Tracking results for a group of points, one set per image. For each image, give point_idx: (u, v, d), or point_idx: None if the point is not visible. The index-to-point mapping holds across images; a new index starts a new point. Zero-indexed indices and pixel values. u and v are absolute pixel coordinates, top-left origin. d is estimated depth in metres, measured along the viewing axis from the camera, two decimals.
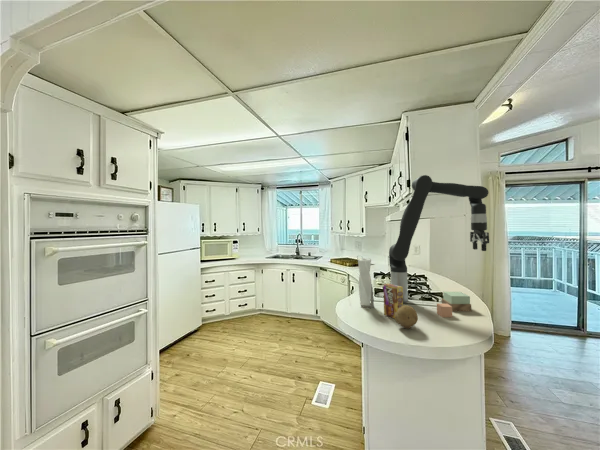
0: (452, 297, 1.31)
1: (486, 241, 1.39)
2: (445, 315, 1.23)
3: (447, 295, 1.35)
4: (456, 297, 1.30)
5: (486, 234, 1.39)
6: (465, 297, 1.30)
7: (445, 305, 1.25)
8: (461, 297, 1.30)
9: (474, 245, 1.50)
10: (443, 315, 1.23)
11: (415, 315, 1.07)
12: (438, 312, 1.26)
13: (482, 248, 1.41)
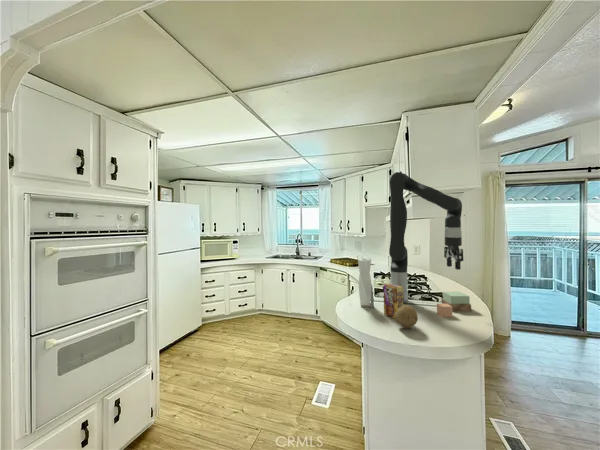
0: (452, 297, 1.31)
1: (460, 259, 1.24)
2: (445, 315, 1.23)
3: (447, 295, 1.35)
4: (456, 297, 1.31)
5: (460, 251, 1.24)
6: (465, 297, 1.30)
7: (445, 305, 1.25)
8: (461, 297, 1.30)
9: (448, 262, 1.34)
10: (443, 315, 1.23)
11: (415, 315, 1.07)
12: (438, 312, 1.26)
13: (456, 266, 1.26)
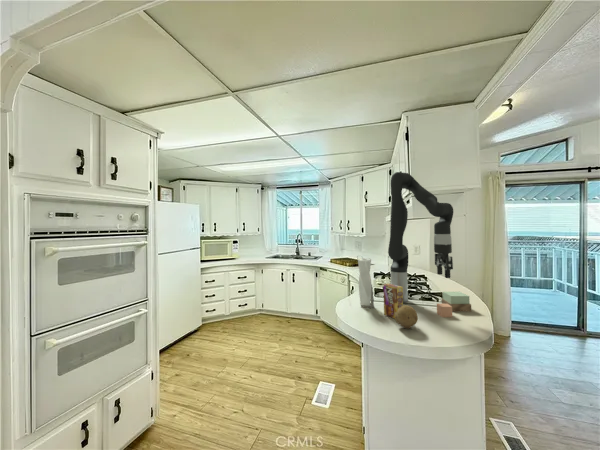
0: (452, 297, 1.31)
1: (449, 267, 1.18)
2: (445, 315, 1.23)
3: (446, 295, 1.35)
4: (456, 297, 1.30)
5: (449, 259, 1.18)
6: (464, 297, 1.30)
7: (445, 305, 1.25)
8: (461, 297, 1.30)
9: (438, 269, 1.29)
10: (443, 315, 1.23)
11: (415, 315, 1.07)
12: (438, 312, 1.26)
13: (445, 275, 1.21)
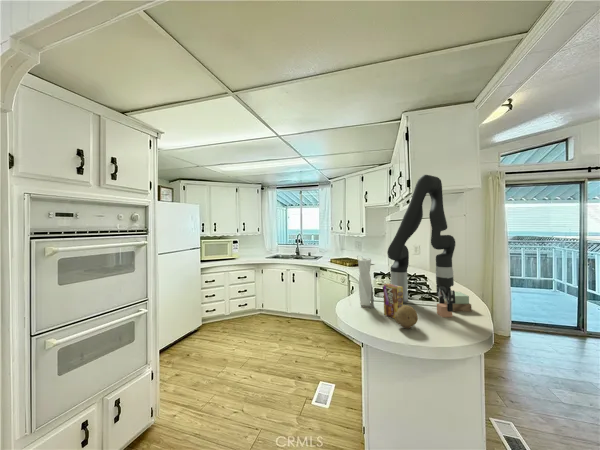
0: None
1: (452, 301, 1.18)
2: (445, 315, 1.23)
3: None
4: (455, 297, 1.31)
5: (452, 293, 1.18)
6: (464, 297, 1.30)
7: (445, 305, 1.25)
8: (460, 297, 1.30)
9: (440, 301, 1.29)
10: (443, 315, 1.23)
11: (415, 315, 1.07)
12: (438, 312, 1.26)
13: (448, 308, 1.20)
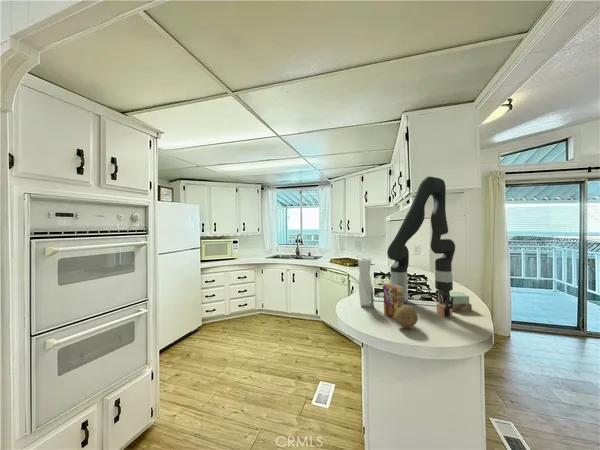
0: None
1: (449, 306, 1.20)
2: None
3: None
4: (455, 297, 1.30)
5: (450, 300, 1.18)
6: (464, 297, 1.30)
7: None
8: (460, 297, 1.30)
9: None
10: (443, 315, 1.23)
11: (415, 315, 1.07)
12: (438, 312, 1.26)
13: (445, 313, 1.22)
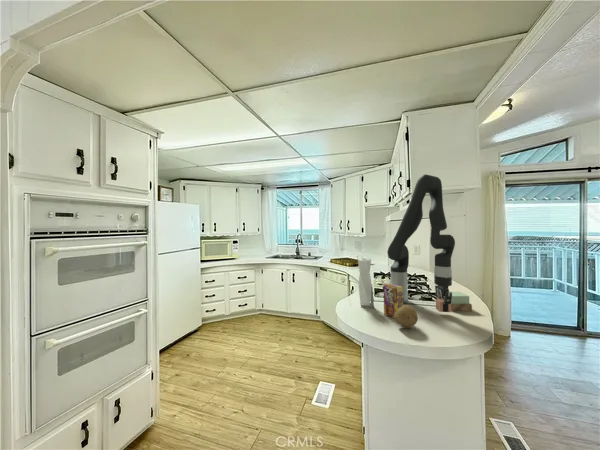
0: None
1: (447, 301, 1.20)
2: None
3: None
4: (455, 297, 1.30)
5: (449, 295, 1.18)
6: (464, 297, 1.30)
7: None
8: (460, 297, 1.30)
9: None
10: (442, 310, 1.23)
11: (415, 315, 1.07)
12: (437, 307, 1.26)
13: (444, 308, 1.22)
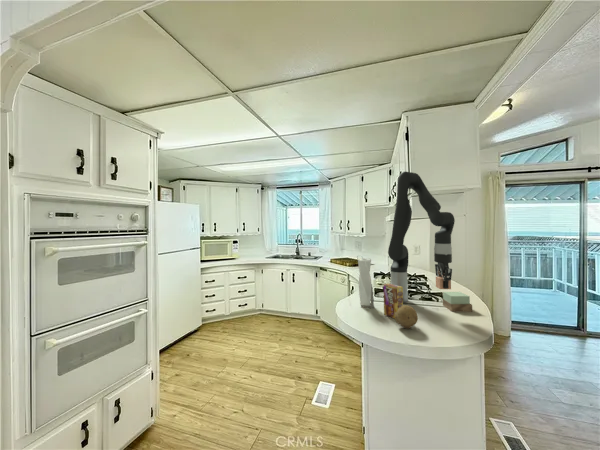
0: (452, 297, 1.30)
1: (447, 278, 1.20)
2: None
3: (447, 295, 1.35)
4: (456, 297, 1.30)
5: (449, 271, 1.18)
6: (465, 297, 1.30)
7: None
8: (461, 297, 1.30)
9: None
10: (442, 287, 1.23)
11: (415, 315, 1.07)
12: (437, 285, 1.26)
13: (443, 285, 1.22)
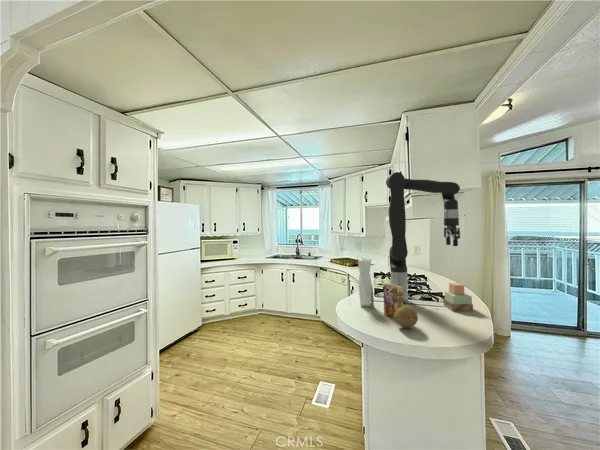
0: (454, 297, 1.30)
1: (457, 236, 1.40)
2: (458, 293, 1.32)
3: (449, 295, 1.34)
4: (458, 297, 1.30)
5: (457, 229, 1.40)
6: (467, 297, 1.30)
7: (457, 284, 1.34)
8: (463, 297, 1.30)
9: (447, 241, 1.51)
10: (456, 293, 1.32)
11: (415, 315, 1.07)
12: (451, 291, 1.36)
13: (453, 243, 1.43)
